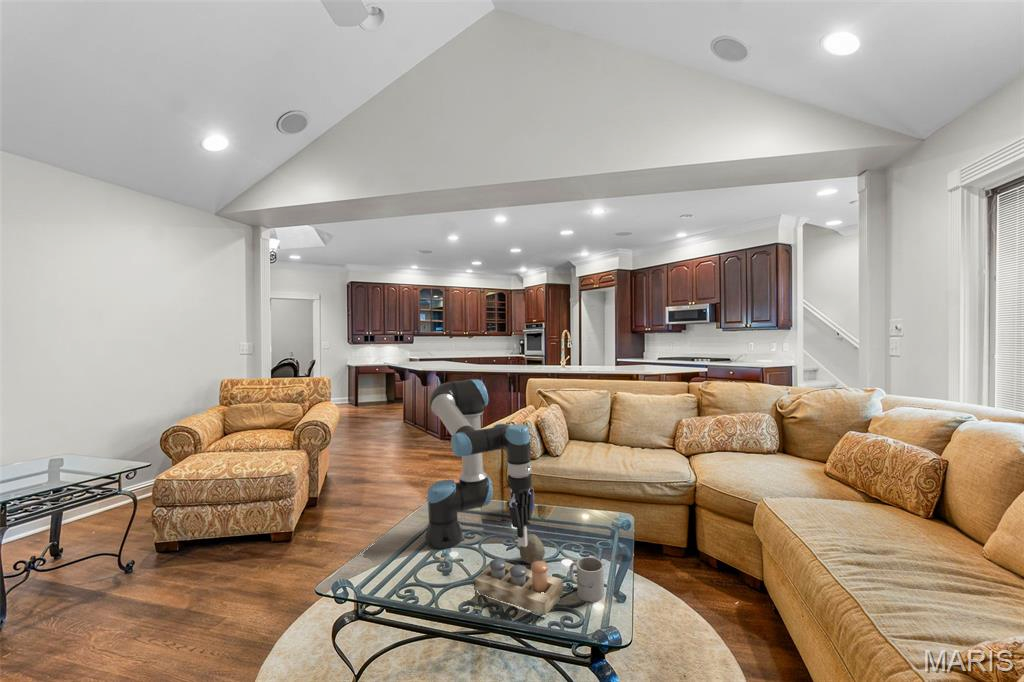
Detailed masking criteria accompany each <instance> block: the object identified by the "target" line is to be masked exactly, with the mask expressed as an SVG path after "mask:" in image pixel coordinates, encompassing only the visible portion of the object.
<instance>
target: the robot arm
mask: <svg viewBox="0 0 1024 682" xmlns="http://www.w3.org/2000/svg"><path fill="white" fill-rule="evenodd" d="M428 402H429V408H430V410H431V411H432V413H433V414H434V415H435V416H437V417H439V419H440V420H441V422H442V423H443V425H444V426H445V428H446V429H447V432H448V433H449V435H451V438H450V444H451V445H450V446H451V450H452V453H453V455H454V456H455V457H461V463H462V466H461V468H462V473H461V474H460V475H459V481H458V482H456V481H455V480H454V479H442V480H438V481H436V482H434V483H432V484H431V485H430V486H429V488H428V489H427V499H426V501H427V507H428V508H427V511H428V525H427V529H426V533H425V544H426V543H427V544H428V545H427V544H426V545H427V546H428V547H429V548H432V549H440V550H441V549H448V548H452V547H455V546H457V545H458V544H460V543H461V542H462V540H463V539H464V538H463V537H464V536H463V530H462V527H461V525H460V522H459V519H458V513H461V512H465V511H469V510H474V509H480V508H483V507H485V506H489V504H490V503H491V501H492V500H493V499H492V498H493V493H494V492H493V491H494V489H493V488H494V487H493V482H492V480H491V478H490V477H489V476H488V475H487V473H486V472H485V471H484V464H483V463H484V462H483V461H484V460H483V453H489V452H493V451H499V450H500V451H501V450H504V451H506V461H507V468H506V469H507V482H508V483H507V484H508V487H509V488H510V489H512V494H511V497H512V499H511V501H510V500H507V503H506V504H507V507H508V509H509V514H510V518H511V519H510V520H511V525H512V527H513V528H515V529H516V533H517V534H516V535H517V545H518V546H519V547H520V546H523V547H526V546H527V545H528V543H527V535H528V526H530V525H531V523H530V522H529V521H530V520H531V516H532V513H531V505H532V495H533V489H534V488H533V489H529V487H532V485H533V483H532V481H533V480H532V474H531V473H532V465H531V464H532V463H531V435H530V429H529V427H528V426H527V425H525V424H520V423H519V424H517V423H516V424H511V425H509V424H506V423H497V424H495V425H494V426H492V427H489V428H483V429H482V423H481V422H482V421H481V415H483V414H484V412H485V410H484V408H485V407H487V406H488V404H489V395H488V389H487V388H486V385H485V383H484V382H483V381H482V380H481V379H465V380H455V381H448V382H444V383H440V385H438V386H437V387H435V388H434V390H433V391H432V392H431V394H430V397H429V401H428Z"/></svg>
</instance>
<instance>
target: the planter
mask: <svg viewBox="0 0 1024 682" xmlns="http://www.w3.org/2000/svg"><path fill="white" fill-rule="evenodd" d="M529 489H533V495H532V505H531V514H532V513H533V511H534V508H535V491H534V490H535V489H534V487H532V486H531V487H529ZM511 494H512V489H511V488H510V489H509V501H511V499H512V497H511Z"/></svg>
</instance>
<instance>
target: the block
mask: <svg viewBox="0 0 1024 682" xmlns="http://www.w3.org/2000/svg"><path fill="white" fill-rule="evenodd" d="M515 565H516V564H512V563H510V562H506V566H505V576H504V577H503V578H502V579H501V580H499V579H496V578H493V577H491V568H490V565H488V566H487V567H486V568H485V569H484V570H483V571H482V572H481V573H479V575H477V576H476V577H475V578H474V586H475V587H474V588H475V594H476V595H478V594H477V590H480V591H481V593H483V594H484V595H486V596H488V597H491V598H494V599H497V600H499V601H503V602H506V603H510V604H513V605H516V606H519V607H522V608H524V609H527V610H530V611H535V612H539V613H542V614H544V615H546V614H547V613H548V612H549V611H550V610H551V608H552V607H553V606H554V605H555V604H556V603H557V604H558V603H559V601H560V600H561V598H562V597H563V596H562V595H564V580H563V579H561V578H558V577H554V576H551V575H549V574H547V585H548V587H547V589H546V590H544V591H536V590H534V589H533V585H532V570H531V569H529V568H526V583H525V584H524V585H523V587H520V586H517V585H514V584H511V574H510V568H511V567H512V566H515ZM541 592H544V593H545V594H544V595H543V594H541ZM561 596H562V597H561ZM560 597H561V598H560ZM557 604H556V605H557ZM556 605H555V606H556ZM555 606H554V607H555Z"/></svg>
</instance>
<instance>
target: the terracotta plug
mask: <svg viewBox="0 0 1024 682" xmlns="http://www.w3.org/2000/svg"><path fill="white" fill-rule="evenodd" d="M548 569H549V565H548V563H547V562H545V561H543V560H541V561H535V562H533V563H532V564H530V570H532V585H533V589H534V590H536V591H544V590H546V589H547V587H548V585H547V575H548Z"/></svg>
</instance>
